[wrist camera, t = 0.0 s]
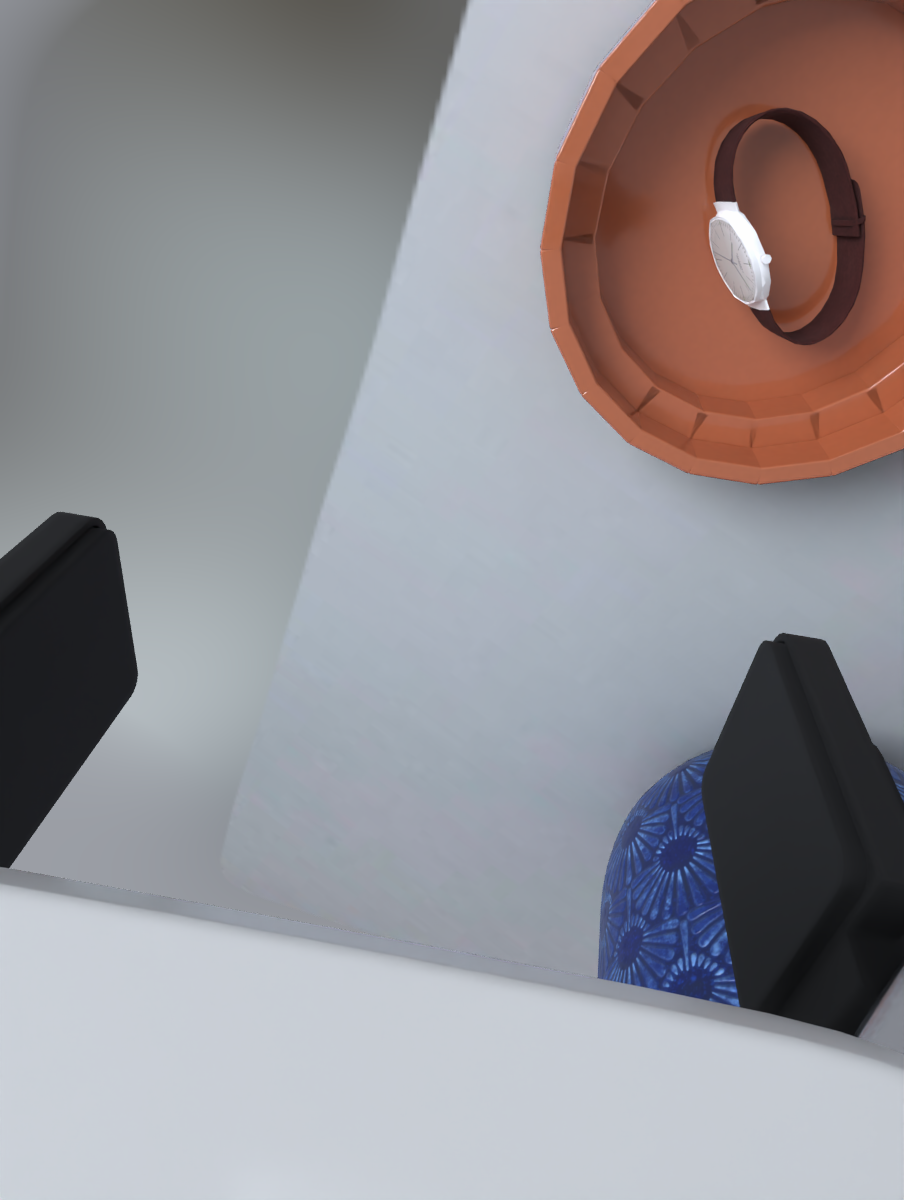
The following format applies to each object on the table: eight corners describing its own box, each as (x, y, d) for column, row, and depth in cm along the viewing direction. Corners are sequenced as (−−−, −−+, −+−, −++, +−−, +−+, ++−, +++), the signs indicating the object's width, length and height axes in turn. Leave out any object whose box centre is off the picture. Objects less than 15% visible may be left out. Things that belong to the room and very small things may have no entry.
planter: (971, 899, 46) (1174, 1315, 31) (632, 935, 53) (657, 1296, 37) (954, 635, 36) (1241, 1055, 21) (538, 719, 43) (519, 1089, 27)
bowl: (600, -112, 23) (606, -147, 20) (1149, -40, 23) (1260, -62, 19) (514, 403, 33) (507, 445, 29) (901, 465, 32) (943, 515, 29)
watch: (676, 150, 26) (689, 159, 24) (819, 71, 25) (853, 70, 22) (744, 352, 30) (763, 383, 27) (873, 295, 28) (909, 320, 25)
